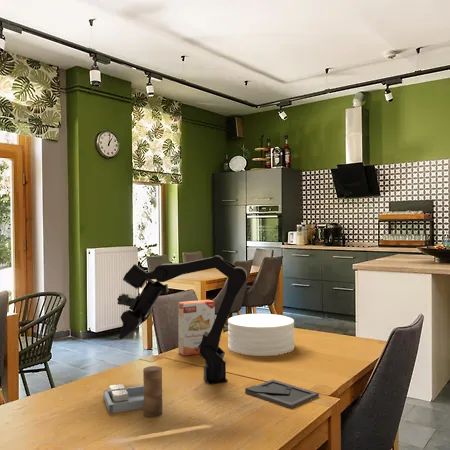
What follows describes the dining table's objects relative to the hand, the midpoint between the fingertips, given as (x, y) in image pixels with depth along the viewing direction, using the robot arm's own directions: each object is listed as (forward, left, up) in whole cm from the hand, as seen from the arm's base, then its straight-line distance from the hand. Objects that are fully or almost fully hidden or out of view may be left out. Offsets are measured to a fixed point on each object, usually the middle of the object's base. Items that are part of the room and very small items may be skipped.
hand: (124, 335), depth 160 cm
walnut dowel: (-2, +35, -15) cm, 38 cm away
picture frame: (-42, +34, -16) cm, 56 cm away
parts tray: (+2, +24, -15) cm, 28 cm away
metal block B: (+6, +26, -14) cm, 30 cm away
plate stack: (-61, -19, -15) cm, 66 cm away
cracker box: (-33, -21, -15) cm, 42 cm away
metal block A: (+6, +21, -14) cm, 26 cm away
